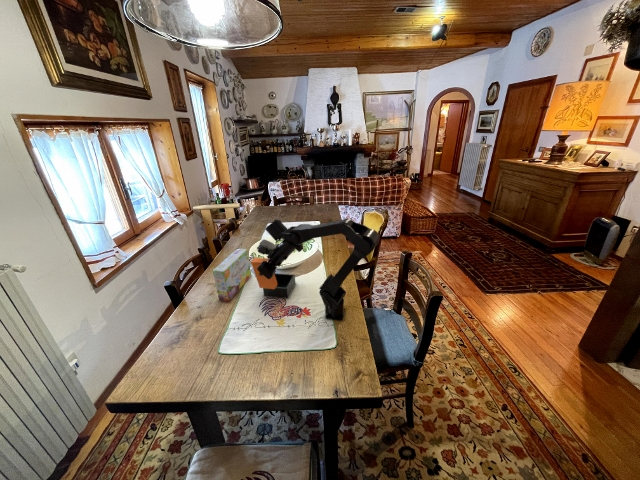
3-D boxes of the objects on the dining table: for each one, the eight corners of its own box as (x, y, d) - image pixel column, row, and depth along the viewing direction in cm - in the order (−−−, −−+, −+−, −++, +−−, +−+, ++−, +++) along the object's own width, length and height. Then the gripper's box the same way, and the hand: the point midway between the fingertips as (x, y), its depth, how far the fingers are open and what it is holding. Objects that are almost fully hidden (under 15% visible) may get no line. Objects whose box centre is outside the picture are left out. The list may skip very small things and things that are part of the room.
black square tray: (295, 283, 118) (294, 274, 115) (288, 298, 108) (286, 288, 106) (273, 282, 120) (272, 272, 118) (264, 296, 110) (262, 286, 108)
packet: (277, 284, 105) (270, 258, 99) (274, 289, 103) (266, 262, 97) (263, 283, 107) (254, 257, 101) (259, 288, 105) (250, 262, 99)
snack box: (230, 302, 107) (223, 271, 101) (218, 300, 108) (211, 270, 102) (252, 275, 126) (247, 248, 120) (242, 274, 127) (236, 247, 121)
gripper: (277, 225, 102) (256, 249, 109) (258, 245, 86) (234, 271, 93) (297, 244, 104) (275, 265, 111) (282, 267, 88) (257, 291, 94)
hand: (261, 272), depth 102 cm, fingers closed on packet, 3 cm apart
